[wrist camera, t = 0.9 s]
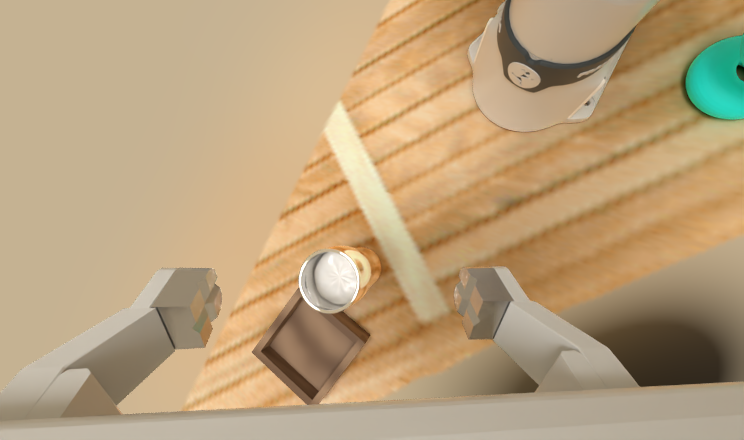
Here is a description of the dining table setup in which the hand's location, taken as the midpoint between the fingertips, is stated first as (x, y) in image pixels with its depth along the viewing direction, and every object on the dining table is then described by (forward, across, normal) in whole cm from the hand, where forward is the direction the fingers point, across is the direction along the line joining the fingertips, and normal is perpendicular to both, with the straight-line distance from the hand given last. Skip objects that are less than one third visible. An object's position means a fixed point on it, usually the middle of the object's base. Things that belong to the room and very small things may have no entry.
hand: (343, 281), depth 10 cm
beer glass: (+27, -3, +24) cm, 36 cm away
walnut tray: (+22, +3, +34) cm, 40 cm away
